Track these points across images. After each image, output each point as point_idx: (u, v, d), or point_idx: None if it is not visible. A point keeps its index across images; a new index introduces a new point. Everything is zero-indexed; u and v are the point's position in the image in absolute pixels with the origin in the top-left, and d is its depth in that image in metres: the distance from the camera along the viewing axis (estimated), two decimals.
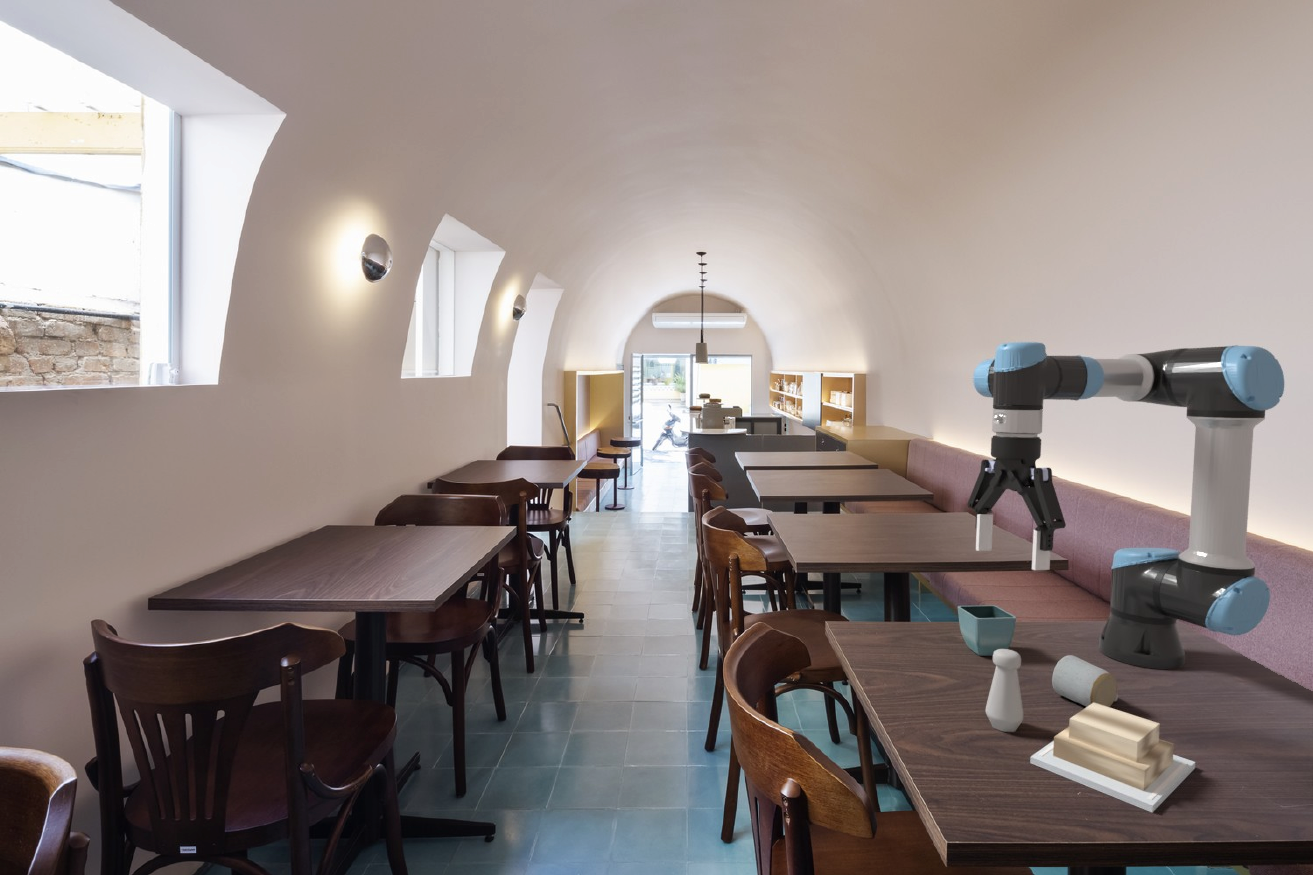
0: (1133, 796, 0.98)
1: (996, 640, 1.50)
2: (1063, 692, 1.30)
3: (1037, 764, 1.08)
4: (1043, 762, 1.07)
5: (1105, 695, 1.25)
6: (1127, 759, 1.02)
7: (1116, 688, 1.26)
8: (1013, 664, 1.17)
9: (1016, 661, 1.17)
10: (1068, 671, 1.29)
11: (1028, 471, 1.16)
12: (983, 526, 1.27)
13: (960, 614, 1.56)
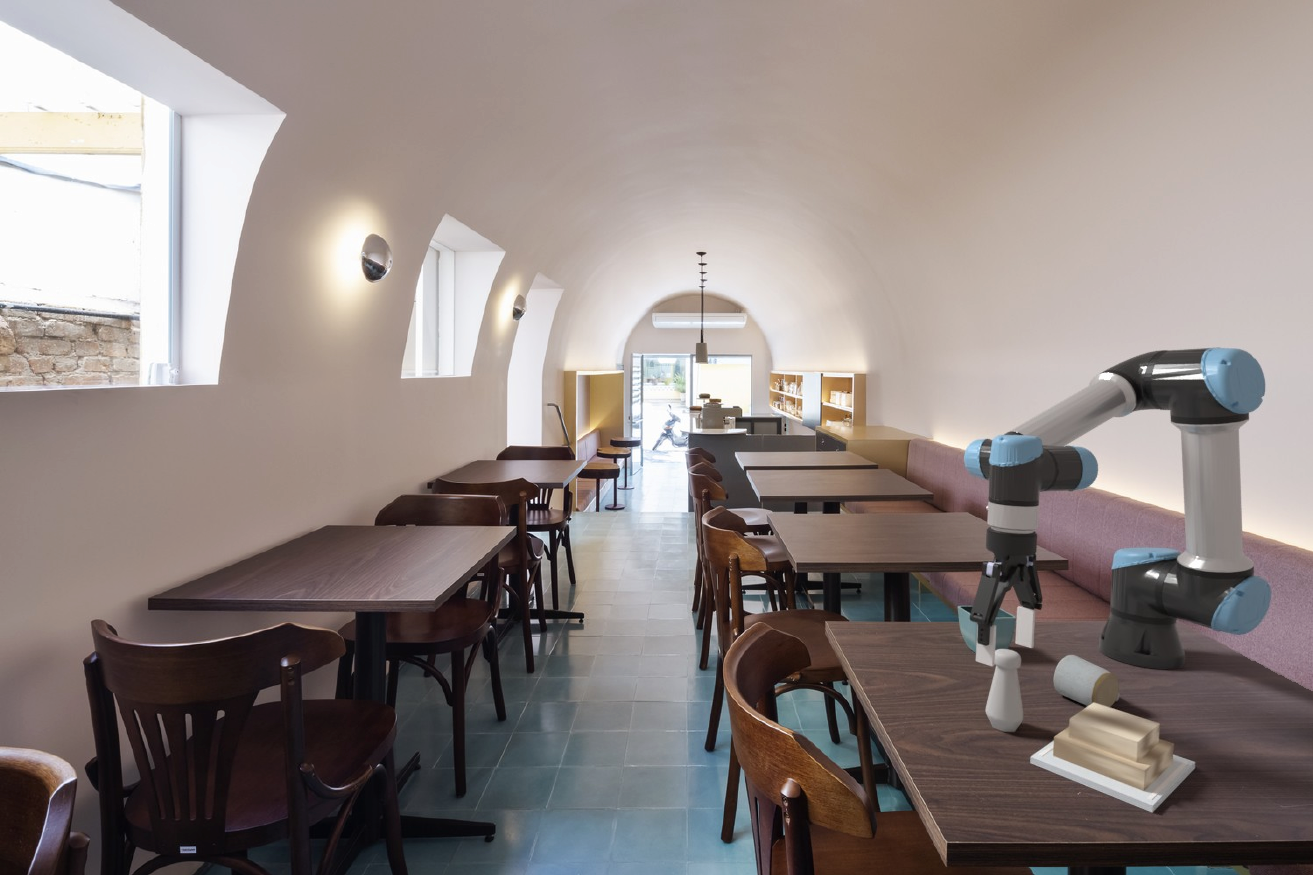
0: (1133, 796, 0.98)
1: (996, 640, 1.50)
2: (1064, 692, 1.30)
3: (1037, 764, 1.08)
4: (1043, 762, 1.07)
5: (1106, 694, 1.26)
6: (1127, 759, 1.02)
7: (1117, 688, 1.26)
8: (1013, 664, 1.17)
9: (1016, 661, 1.17)
10: (1069, 671, 1.29)
11: None
12: (1021, 620, 1.23)
13: (960, 614, 1.56)
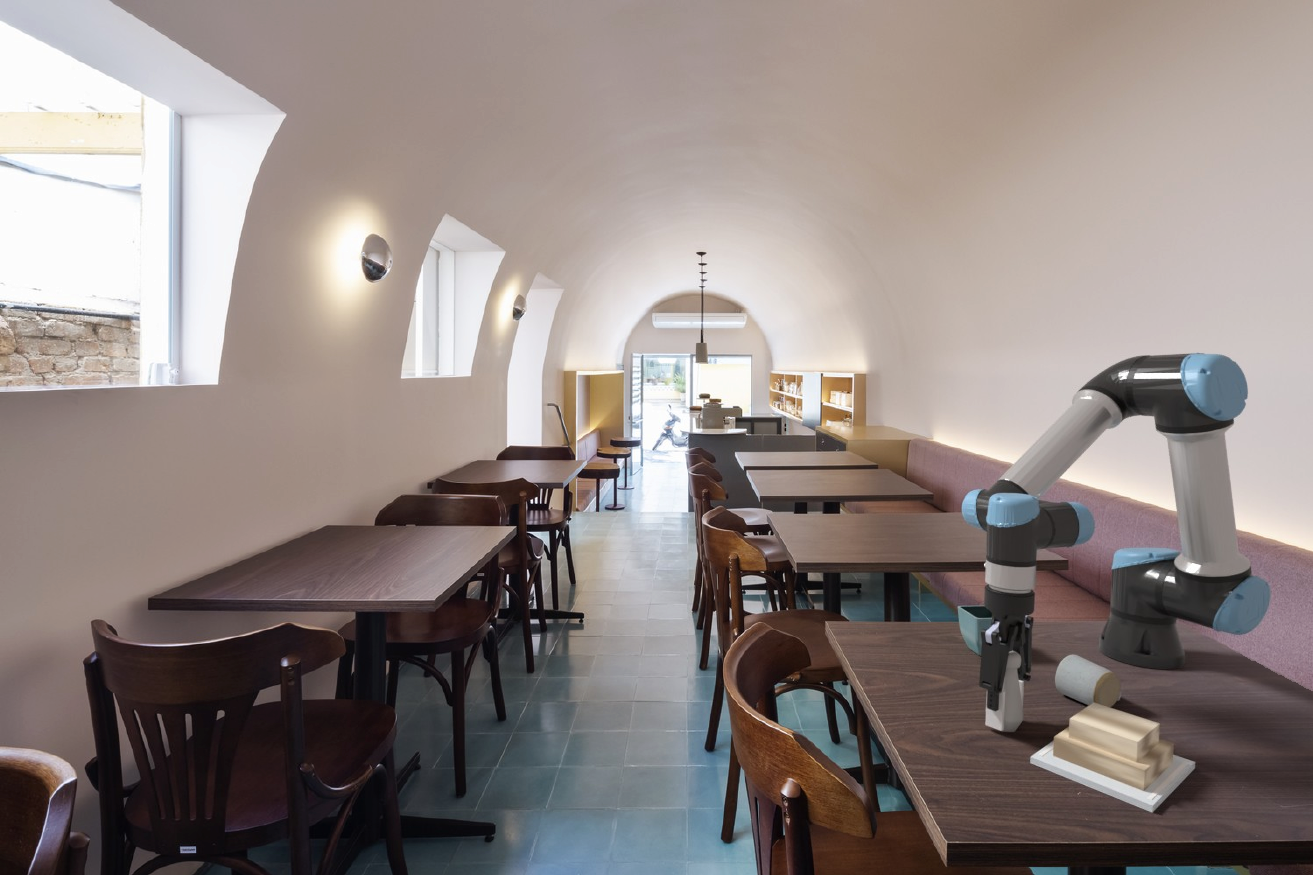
0: (1133, 796, 0.98)
1: None
2: (1066, 691, 1.30)
3: (1037, 764, 1.08)
4: (1043, 762, 1.07)
5: (1108, 694, 1.26)
6: (1127, 759, 1.02)
7: (1119, 687, 1.27)
8: (1013, 664, 1.17)
9: (1016, 661, 1.17)
10: (1071, 670, 1.29)
11: (991, 626, 1.17)
12: None
13: (960, 614, 1.56)
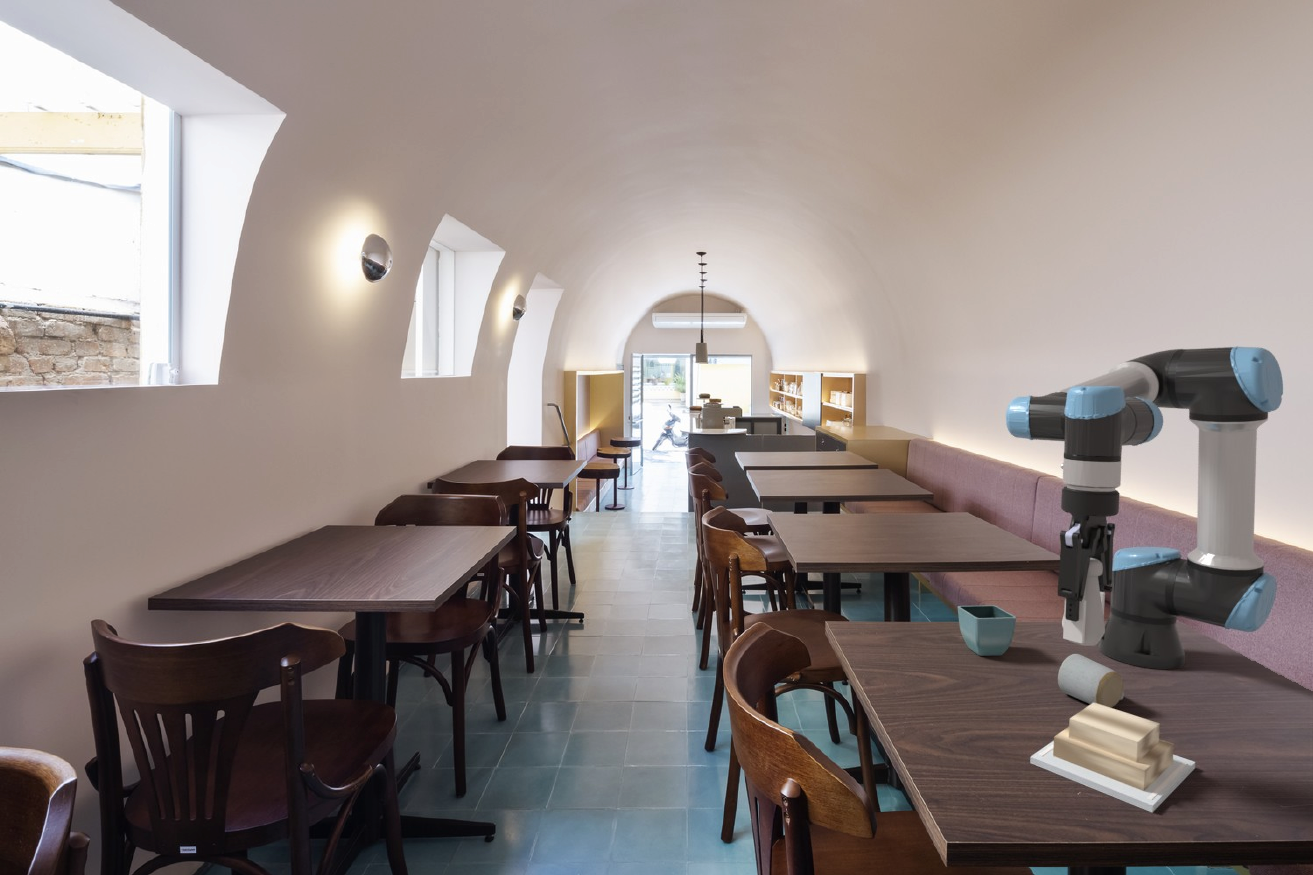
0: (1133, 796, 0.98)
1: (996, 640, 1.50)
2: (1069, 690, 1.30)
3: (1037, 764, 1.08)
4: (1043, 762, 1.07)
5: (1111, 693, 1.26)
6: (1127, 759, 1.02)
7: (1122, 687, 1.27)
8: (1094, 570, 1.07)
9: (1098, 567, 1.07)
10: (1074, 670, 1.29)
11: (1071, 529, 1.07)
12: None
13: (960, 614, 1.56)
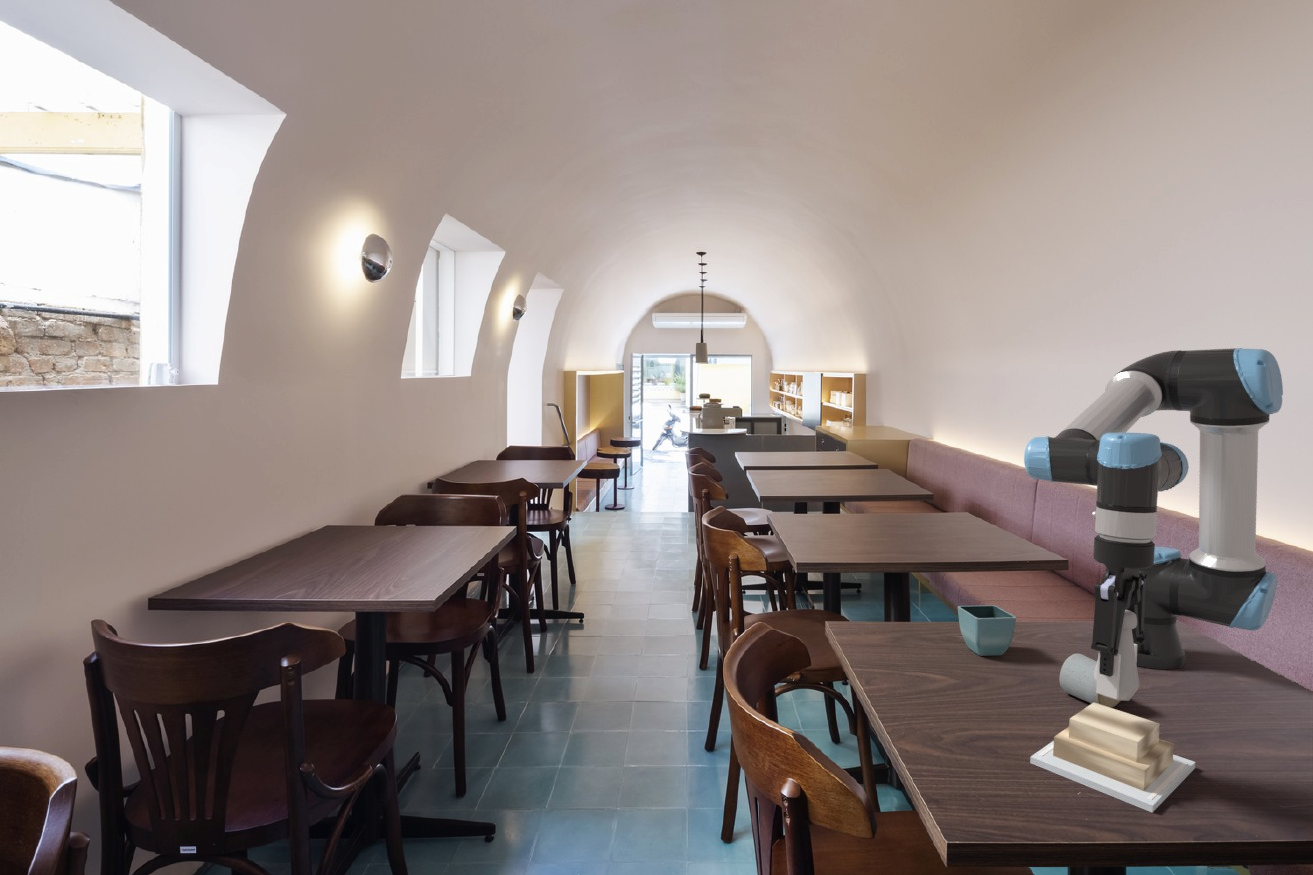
0: (1133, 796, 0.98)
1: (996, 640, 1.50)
2: (1070, 690, 1.30)
3: (1037, 764, 1.08)
4: (1043, 762, 1.07)
5: None
6: (1127, 759, 1.02)
7: None
8: (1129, 623, 1.04)
9: (1132, 620, 1.04)
10: (1075, 669, 1.29)
11: (1105, 580, 1.04)
12: None
13: (960, 614, 1.56)
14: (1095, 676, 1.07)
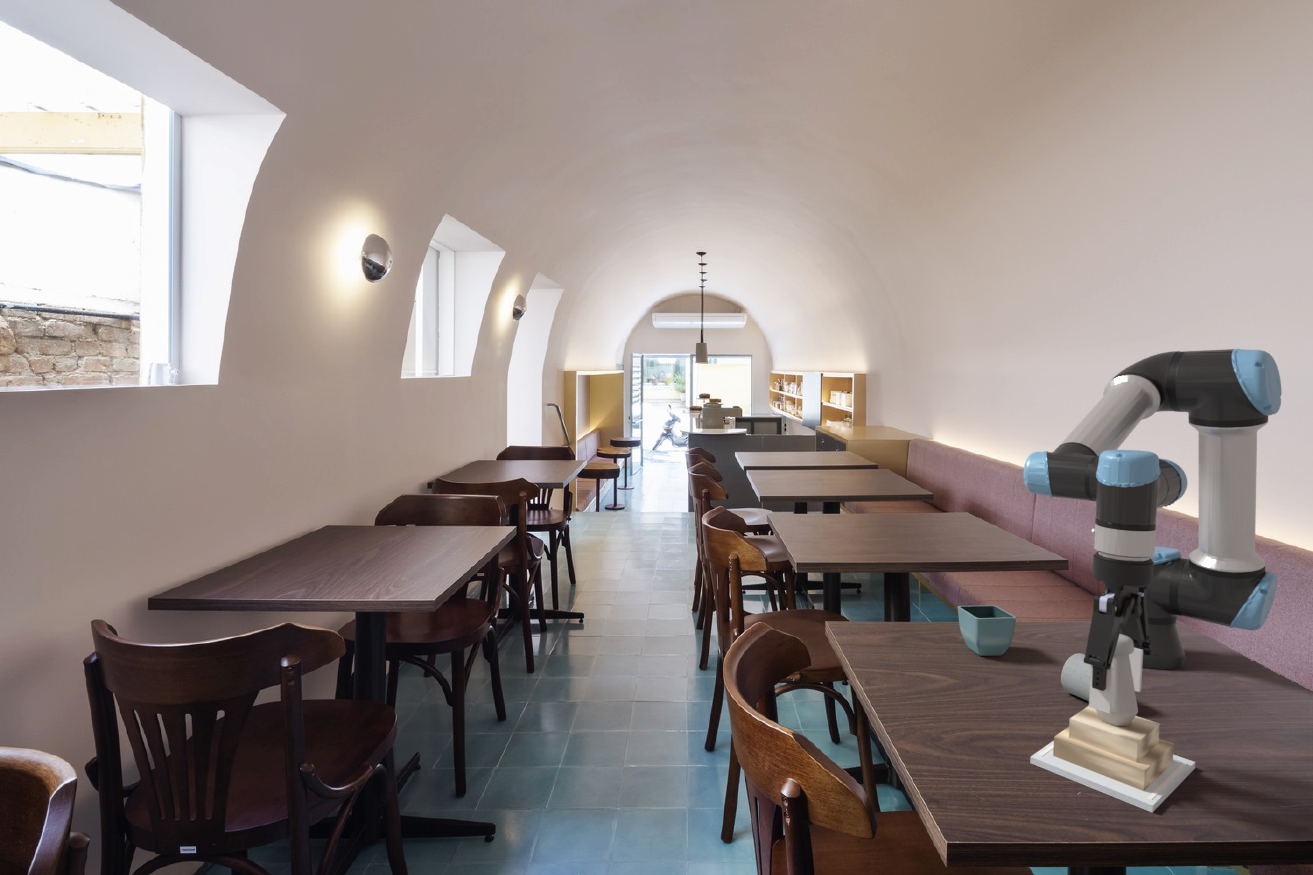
0: (1133, 796, 0.98)
1: (996, 640, 1.50)
2: (1072, 690, 1.30)
3: (1037, 764, 1.08)
4: (1043, 762, 1.07)
5: None
6: (1127, 759, 1.02)
7: None
8: (1126, 649, 1.05)
9: (1129, 645, 1.05)
10: (1077, 669, 1.30)
11: None
12: None
13: (960, 614, 1.56)
14: None
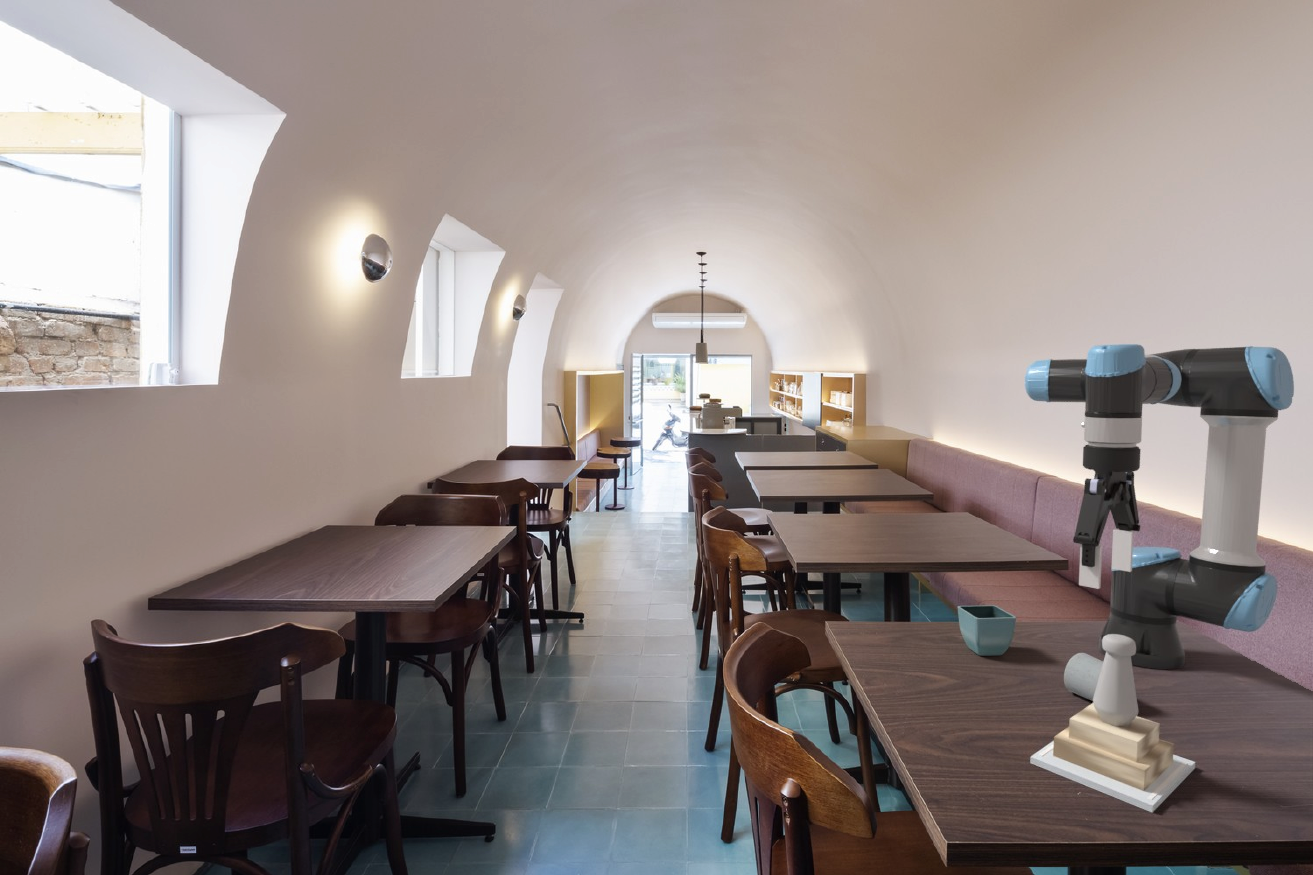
0: (1133, 796, 0.98)
1: (996, 640, 1.50)
2: (1075, 689, 1.31)
3: (1037, 764, 1.08)
4: (1043, 762, 1.07)
5: None
6: (1127, 759, 1.02)
7: None
8: (1128, 650, 1.05)
9: (1131, 647, 1.05)
10: (1080, 668, 1.30)
11: None
12: (1118, 543, 1.17)
13: (960, 614, 1.56)
14: (1094, 702, 1.08)
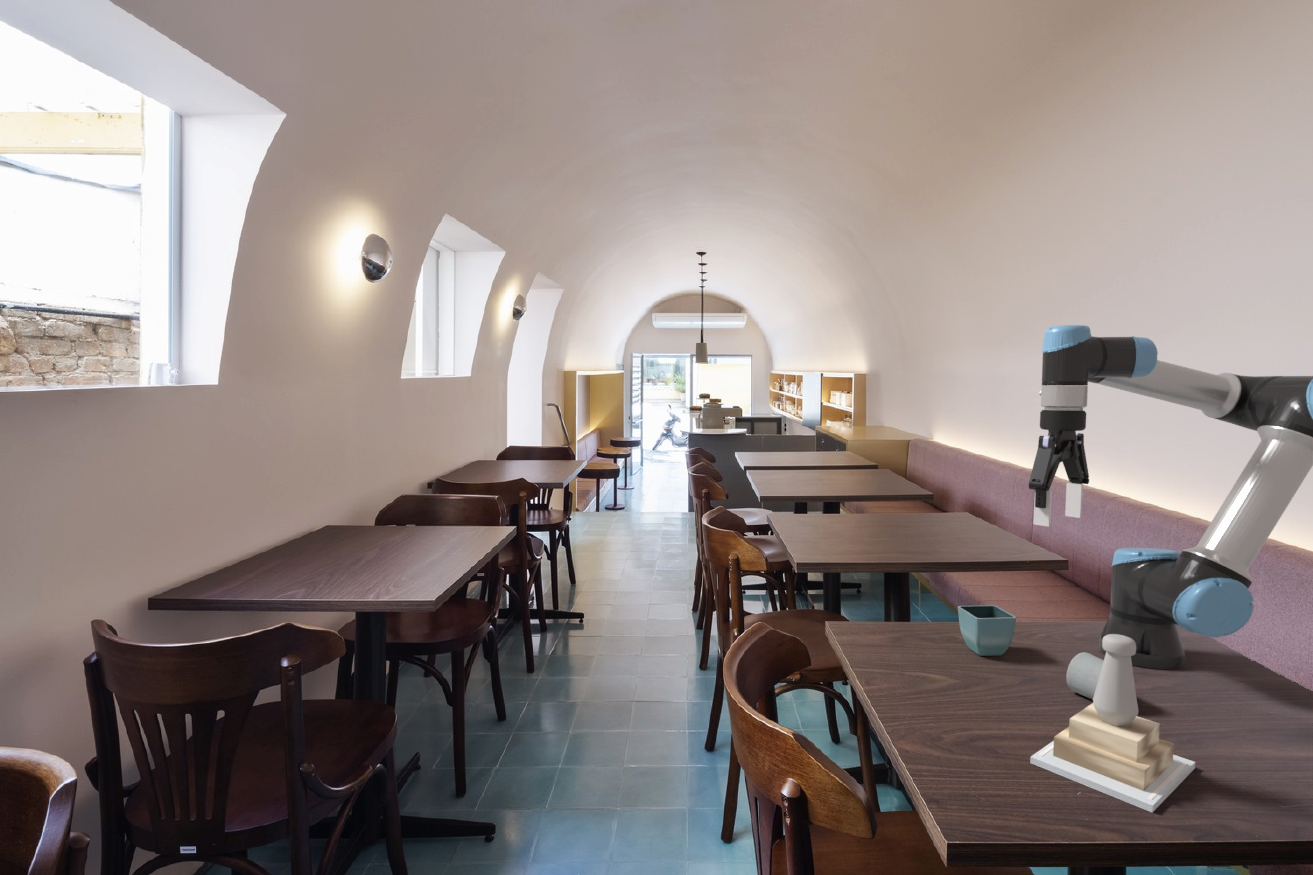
0: (1133, 796, 0.98)
1: (996, 640, 1.50)
2: (1077, 689, 1.31)
3: (1037, 764, 1.08)
4: (1043, 762, 1.07)
5: None
6: (1127, 759, 1.02)
7: None
8: (1128, 650, 1.05)
9: (1131, 647, 1.05)
10: (1082, 668, 1.30)
11: None
12: (1070, 494, 1.39)
13: (960, 614, 1.56)
14: (1094, 702, 1.08)
